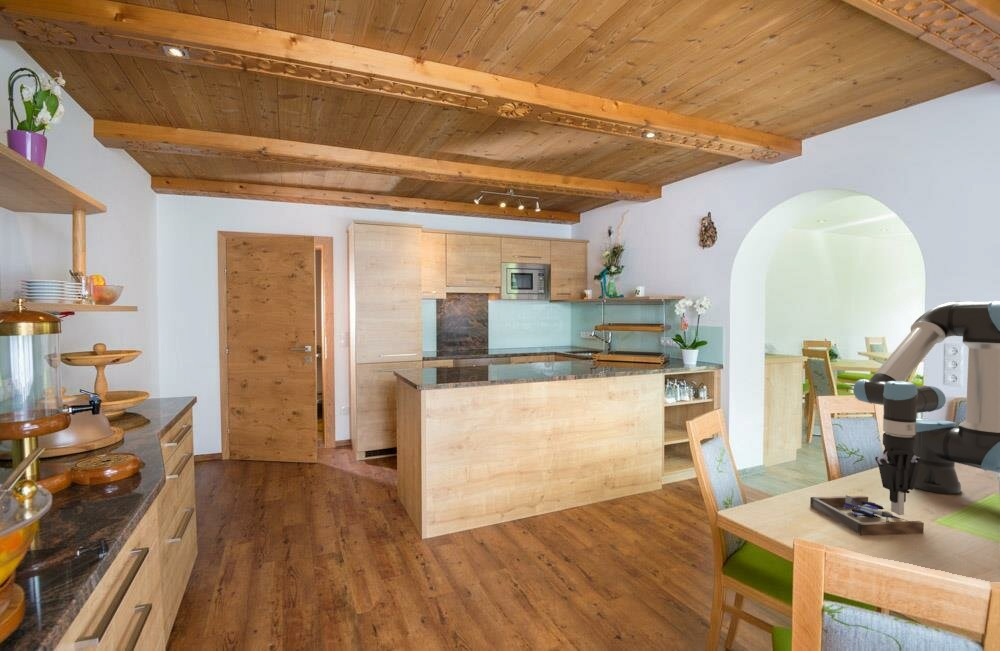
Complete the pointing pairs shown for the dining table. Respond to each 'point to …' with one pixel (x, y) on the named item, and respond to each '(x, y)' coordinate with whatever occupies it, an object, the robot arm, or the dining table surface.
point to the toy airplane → (867, 509)
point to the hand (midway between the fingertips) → (897, 512)
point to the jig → (872, 528)
